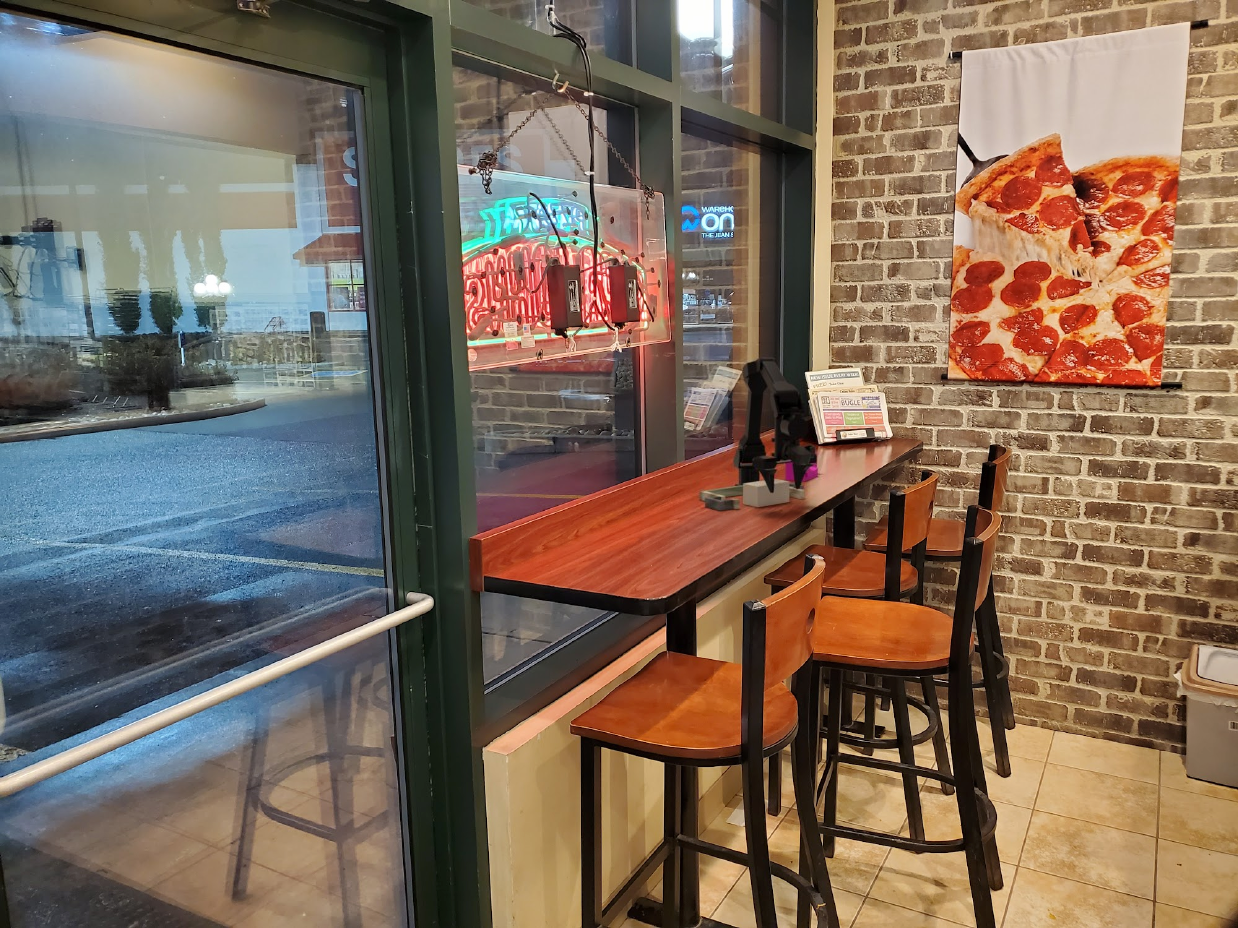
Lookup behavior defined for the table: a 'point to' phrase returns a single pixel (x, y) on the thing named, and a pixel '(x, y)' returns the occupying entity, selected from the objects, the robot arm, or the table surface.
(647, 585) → the table surface
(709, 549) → the table surface
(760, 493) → the push block
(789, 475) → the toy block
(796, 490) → the trap lane
